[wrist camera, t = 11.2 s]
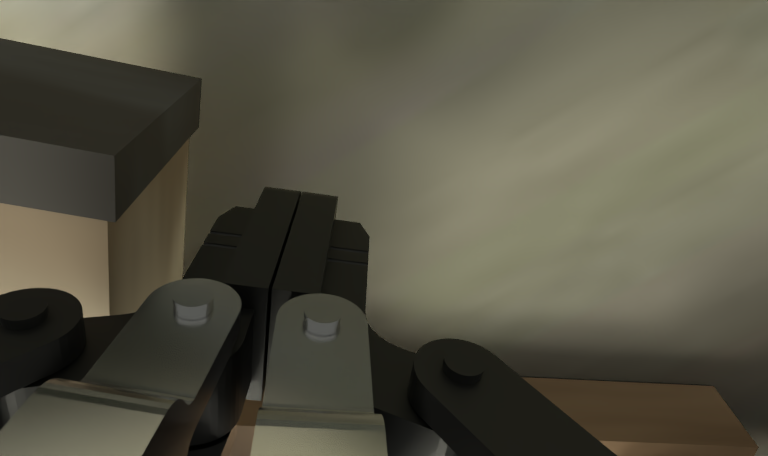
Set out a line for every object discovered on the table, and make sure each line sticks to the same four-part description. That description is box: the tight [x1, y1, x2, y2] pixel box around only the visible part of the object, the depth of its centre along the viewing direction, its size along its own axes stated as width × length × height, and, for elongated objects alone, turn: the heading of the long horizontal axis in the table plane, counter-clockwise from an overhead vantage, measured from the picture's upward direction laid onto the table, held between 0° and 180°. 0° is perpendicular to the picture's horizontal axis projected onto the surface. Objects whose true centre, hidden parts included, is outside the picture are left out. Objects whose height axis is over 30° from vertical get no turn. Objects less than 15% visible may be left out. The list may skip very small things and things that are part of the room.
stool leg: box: [0, 38, 202, 318], centre depth 12 cm, size 15×4×5 cm, turn 168°
